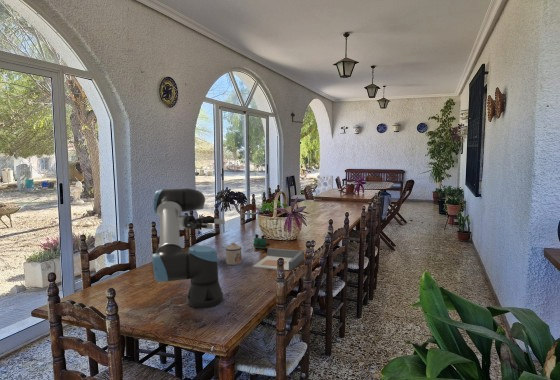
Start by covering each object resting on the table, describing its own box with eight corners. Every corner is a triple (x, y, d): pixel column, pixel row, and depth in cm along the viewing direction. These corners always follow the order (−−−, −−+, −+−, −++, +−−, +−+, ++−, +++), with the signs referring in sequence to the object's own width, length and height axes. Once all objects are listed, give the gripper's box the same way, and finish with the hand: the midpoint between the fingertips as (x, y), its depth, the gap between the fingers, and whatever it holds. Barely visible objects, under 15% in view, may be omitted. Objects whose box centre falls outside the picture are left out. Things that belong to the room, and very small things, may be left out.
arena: (291, 271, 198) (291, 262, 198) (253, 267, 206) (252, 258, 205) (303, 259, 219) (303, 250, 218) (268, 256, 226) (268, 248, 226)
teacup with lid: (237, 265, 209) (236, 245, 208) (222, 264, 212) (222, 244, 211) (246, 259, 220) (246, 240, 219) (232, 258, 224) (232, 239, 222)
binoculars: (271, 234, 241) (264, 235, 233) (271, 250, 242) (263, 253, 233) (259, 232, 246) (251, 234, 237) (259, 248, 246) (251, 251, 237)
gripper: (198, 223, 237) (229, 225, 230) (174, 233, 214) (207, 235, 207) (198, 212, 236) (228, 213, 229) (173, 219, 213) (206, 222, 206)
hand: (218, 224), depth 218 cm, fingers open, 13 cm apart
